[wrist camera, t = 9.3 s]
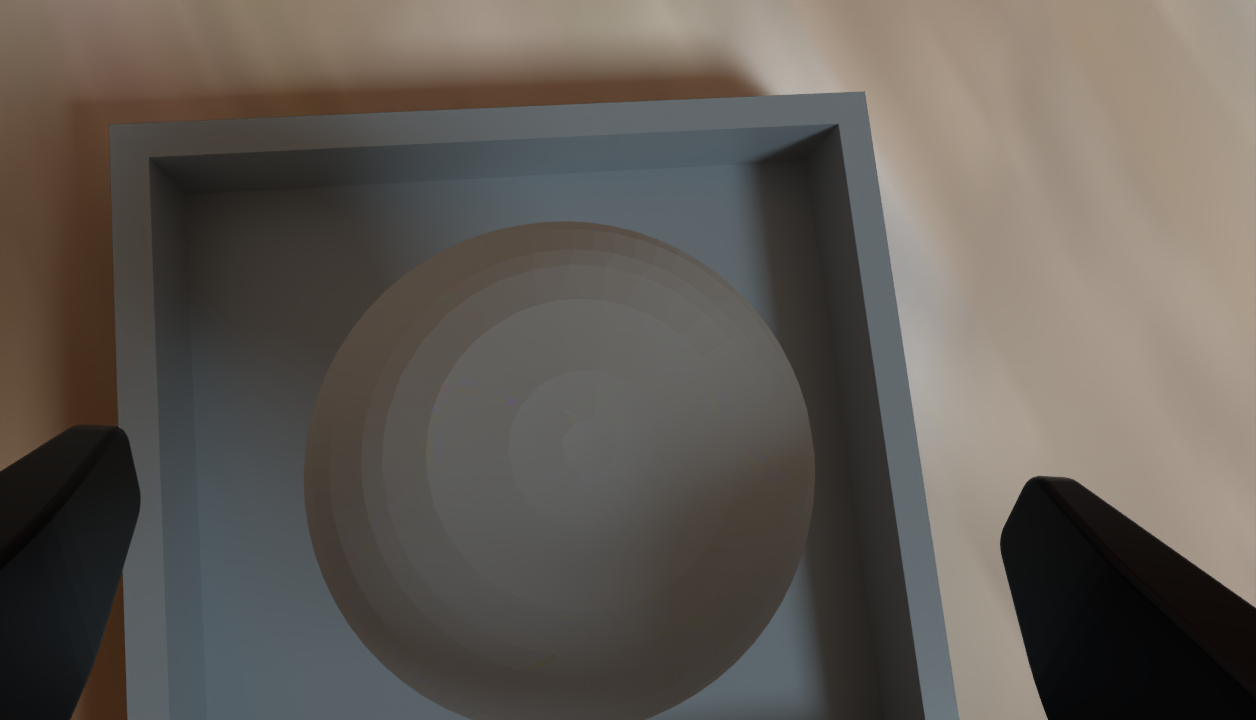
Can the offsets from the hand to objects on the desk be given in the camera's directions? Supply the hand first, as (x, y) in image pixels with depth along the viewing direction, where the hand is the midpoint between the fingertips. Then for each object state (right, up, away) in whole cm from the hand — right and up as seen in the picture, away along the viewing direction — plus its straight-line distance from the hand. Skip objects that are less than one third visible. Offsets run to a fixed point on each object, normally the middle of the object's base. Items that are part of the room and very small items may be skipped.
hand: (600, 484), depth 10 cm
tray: (-1, -1, +9) cm, 9 cm away
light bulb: (-1, -1, +8) cm, 8 cm away
